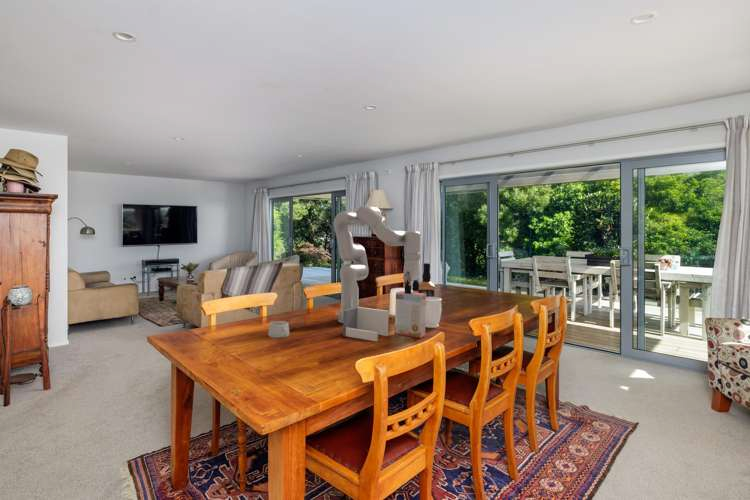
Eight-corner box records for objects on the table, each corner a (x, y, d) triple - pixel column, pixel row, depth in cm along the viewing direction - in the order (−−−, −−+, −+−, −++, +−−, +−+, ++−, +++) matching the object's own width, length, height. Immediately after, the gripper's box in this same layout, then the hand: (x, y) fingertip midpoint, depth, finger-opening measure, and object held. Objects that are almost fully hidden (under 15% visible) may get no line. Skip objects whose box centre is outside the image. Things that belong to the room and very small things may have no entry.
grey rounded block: (264, 335, 192) (264, 322, 191) (283, 331, 198) (283, 319, 197) (276, 341, 182) (276, 327, 182) (295, 337, 188) (295, 324, 188)
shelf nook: (343, 335, 193) (343, 310, 192) (355, 330, 203) (356, 306, 203) (376, 341, 185) (377, 315, 184) (387, 335, 195) (388, 310, 194)
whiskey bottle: (435, 321, 225) (436, 264, 222) (417, 321, 225) (419, 264, 223) (432, 317, 235) (434, 262, 233) (415, 316, 235) (417, 262, 233)
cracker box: (425, 336, 195) (426, 293, 194) (420, 338, 190) (421, 295, 189) (400, 331, 203) (401, 290, 201) (394, 334, 197) (395, 291, 196)
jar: (428, 329, 208) (429, 300, 207) (417, 324, 217) (417, 297, 216) (444, 327, 212) (445, 299, 211) (433, 322, 222) (434, 295, 221)
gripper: (411, 255, 203) (411, 289, 204) (397, 257, 188) (397, 294, 189) (425, 256, 200) (425, 290, 201) (412, 258, 184) (412, 295, 185)
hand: (411, 292), depth 195 cm, fingers open, 9 cm apart
